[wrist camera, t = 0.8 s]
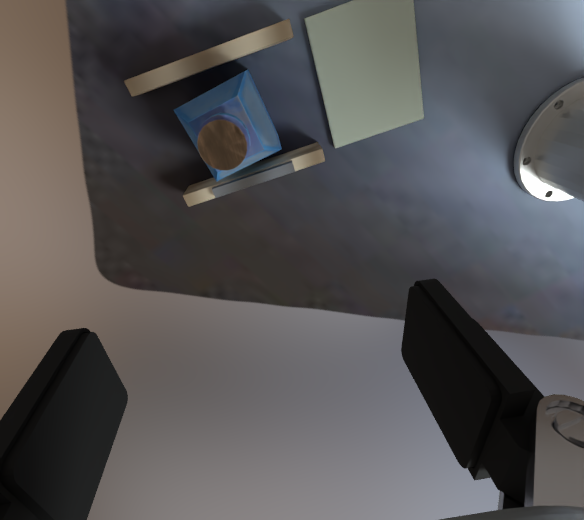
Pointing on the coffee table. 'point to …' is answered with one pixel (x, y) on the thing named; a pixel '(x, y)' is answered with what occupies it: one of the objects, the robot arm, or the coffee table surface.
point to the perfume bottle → (230, 126)
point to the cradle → (213, 59)
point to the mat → (367, 67)
